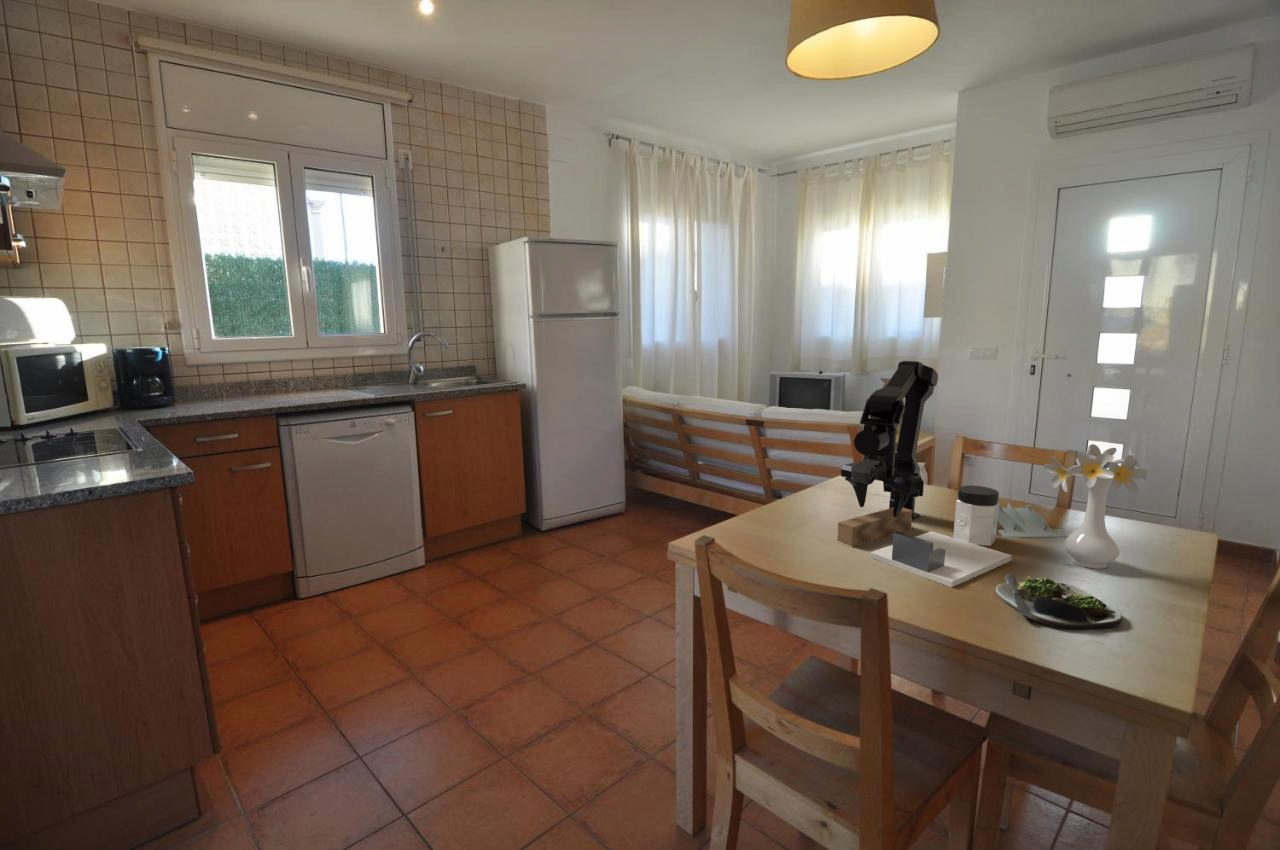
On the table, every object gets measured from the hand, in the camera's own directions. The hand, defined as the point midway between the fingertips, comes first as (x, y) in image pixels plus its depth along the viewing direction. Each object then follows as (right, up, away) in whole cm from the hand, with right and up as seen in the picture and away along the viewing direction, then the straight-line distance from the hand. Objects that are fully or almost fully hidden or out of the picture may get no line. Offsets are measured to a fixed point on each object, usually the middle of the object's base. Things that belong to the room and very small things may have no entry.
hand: (878, 511), depth 144 cm
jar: (+21, -6, -3) cm, 22 cm away
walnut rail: (0, -6, +1) cm, 6 cm away
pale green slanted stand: (+36, -5, +4) cm, 37 cm away
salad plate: (+17, -13, -36) cm, 42 cm away
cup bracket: (+1, -8, -19) cm, 21 cm away
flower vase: (+37, -9, -18) cm, 42 cm away
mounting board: (+8, -8, -14) cm, 18 cm away
